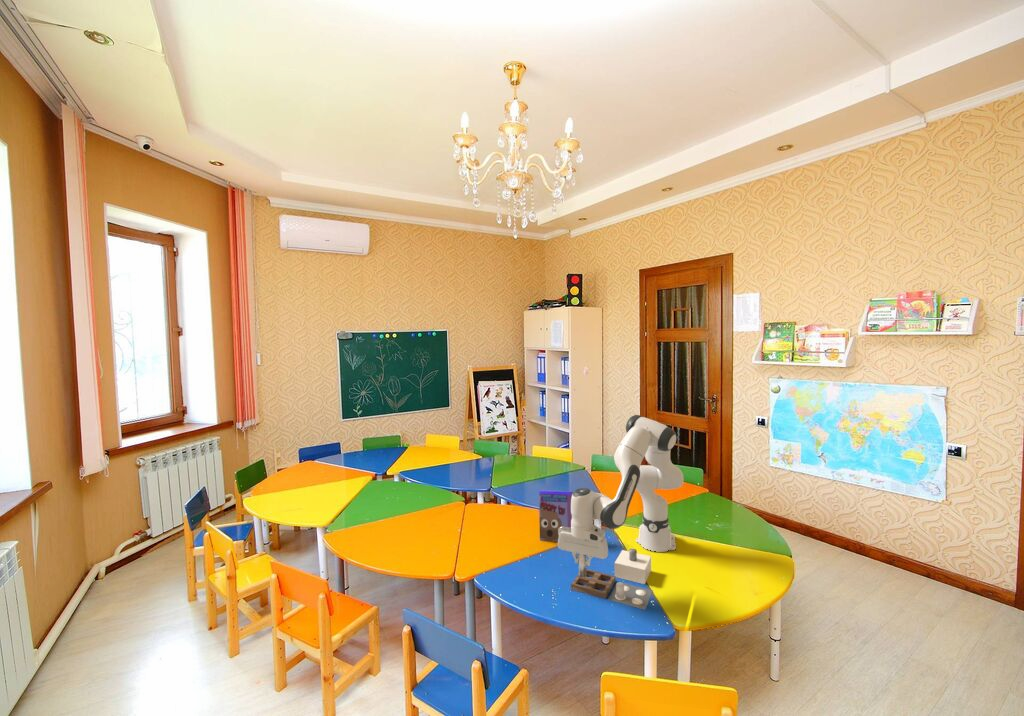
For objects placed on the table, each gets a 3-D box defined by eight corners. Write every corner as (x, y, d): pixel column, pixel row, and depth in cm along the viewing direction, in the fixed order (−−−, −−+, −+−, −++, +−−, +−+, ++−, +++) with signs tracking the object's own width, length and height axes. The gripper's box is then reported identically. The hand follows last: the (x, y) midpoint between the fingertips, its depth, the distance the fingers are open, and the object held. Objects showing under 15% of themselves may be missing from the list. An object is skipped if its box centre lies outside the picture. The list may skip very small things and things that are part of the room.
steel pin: (580, 572, 179) (580, 548, 179) (587, 574, 178) (587, 550, 177) (577, 576, 177) (577, 551, 176) (584, 578, 175) (584, 553, 175)
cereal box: (539, 540, 221) (539, 493, 220) (540, 536, 226) (539, 490, 225) (574, 542, 219) (574, 494, 218) (574, 537, 223) (574, 491, 222)
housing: (622, 565, 196) (622, 541, 195) (651, 572, 190) (651, 547, 189) (614, 579, 185) (614, 553, 184) (644, 586, 179) (644, 560, 178)
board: (617, 583, 181) (617, 569, 181) (652, 592, 175) (652, 578, 174) (607, 602, 169) (607, 586, 169) (645, 612, 162) (645, 596, 162)
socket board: (583, 574, 189) (583, 568, 188) (615, 583, 182) (615, 576, 182) (571, 591, 176) (571, 584, 176) (605, 601, 170) (605, 593, 169)
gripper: (555, 528, 179) (555, 561, 179) (604, 538, 169) (604, 573, 169) (561, 522, 184) (561, 554, 185) (609, 531, 174) (609, 566, 175)
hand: (582, 564), depth 177 cm, fingers closed on steel pin, 3 cm apart
